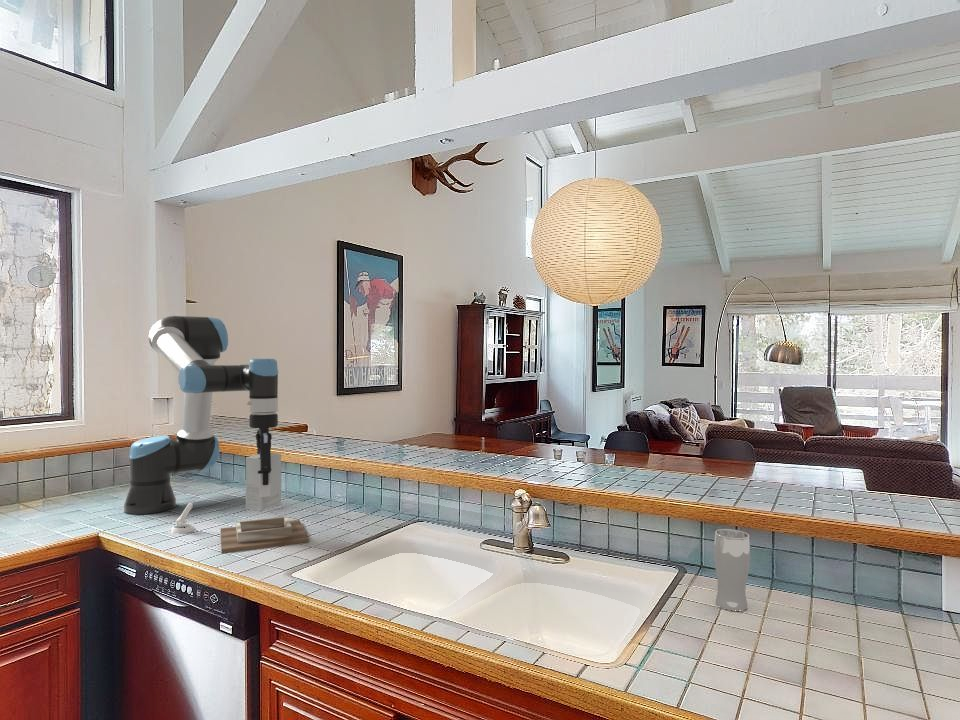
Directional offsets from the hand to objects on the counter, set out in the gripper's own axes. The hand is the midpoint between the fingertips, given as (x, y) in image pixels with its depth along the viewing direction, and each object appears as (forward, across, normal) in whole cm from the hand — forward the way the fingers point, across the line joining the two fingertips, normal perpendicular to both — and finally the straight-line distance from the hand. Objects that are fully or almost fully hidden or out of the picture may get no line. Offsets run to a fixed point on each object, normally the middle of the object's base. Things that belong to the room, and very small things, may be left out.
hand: (263, 492), depth 167 cm
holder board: (+13, 0, 0) cm, 13 cm away
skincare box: (+4, 0, 0) cm, 4 cm away
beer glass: (+13, +87, +85) cm, 122 cm away
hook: (+13, -16, -21) cm, 29 cm away
